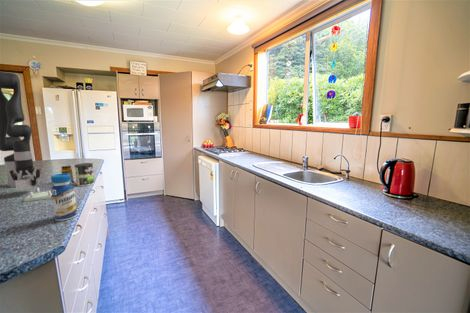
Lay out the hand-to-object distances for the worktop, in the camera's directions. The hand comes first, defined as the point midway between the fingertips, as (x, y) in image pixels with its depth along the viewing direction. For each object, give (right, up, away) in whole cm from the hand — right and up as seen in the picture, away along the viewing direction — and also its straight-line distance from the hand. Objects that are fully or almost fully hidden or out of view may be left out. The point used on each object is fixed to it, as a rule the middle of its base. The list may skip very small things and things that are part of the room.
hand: (27, 185), depth 130 cm
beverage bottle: (+49, -10, -32) cm, 59 cm away
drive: (0, -1, 0) cm, 1 cm away
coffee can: (+21, -2, +20) cm, 29 cm away
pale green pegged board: (+15, -6, -5) cm, 17 cm away
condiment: (+7, -1, +24) cm, 25 cm away
